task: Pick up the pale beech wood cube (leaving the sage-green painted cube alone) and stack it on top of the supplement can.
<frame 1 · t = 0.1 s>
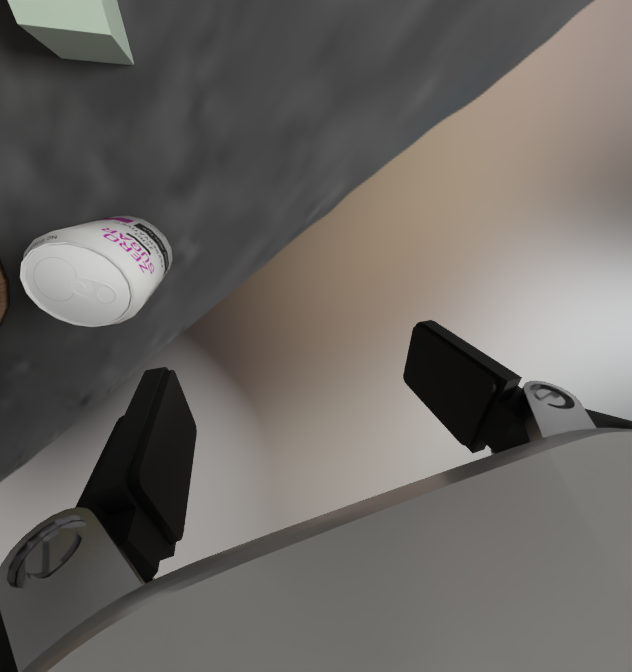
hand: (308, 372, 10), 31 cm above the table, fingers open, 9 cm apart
supplement can: (137, 249, 32), on the table
sage cube: (84, 15, 23), on the table
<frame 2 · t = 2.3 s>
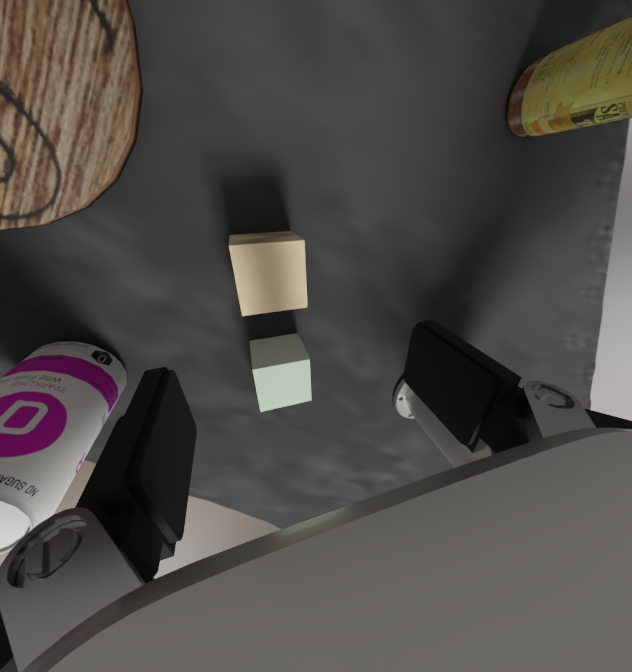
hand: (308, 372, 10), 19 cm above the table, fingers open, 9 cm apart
supplement can: (83, 370, 27), on the table
sage cube: (276, 356, 32), on the table
sauce bottle: (527, 101, 26), on the table
beech cube: (264, 263, 26), on the table
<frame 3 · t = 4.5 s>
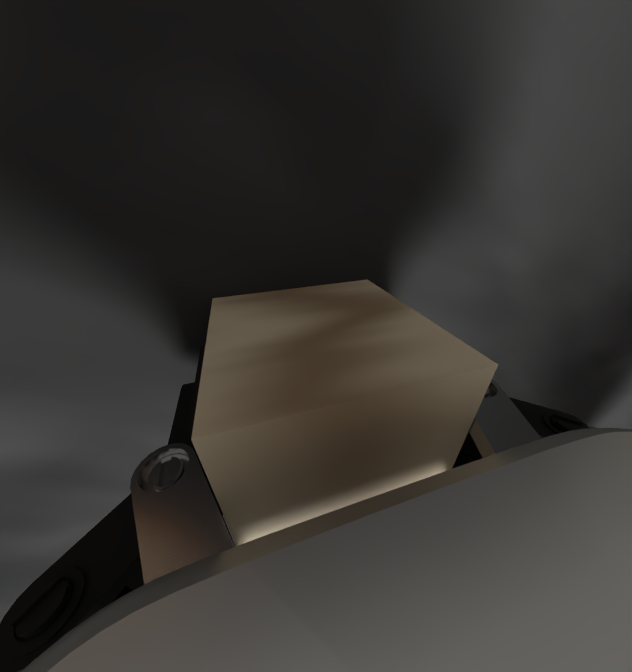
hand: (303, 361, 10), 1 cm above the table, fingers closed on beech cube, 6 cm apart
beech cube: (299, 353, 11), on the table, touching gripper
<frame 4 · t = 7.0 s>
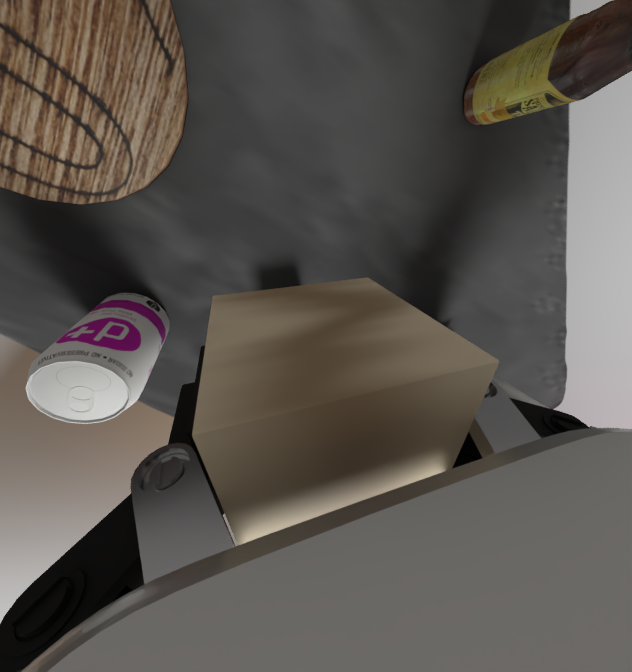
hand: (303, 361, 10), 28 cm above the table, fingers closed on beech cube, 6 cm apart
supplement can: (136, 319, 34), on the table
sauce bottle: (480, 97, 33), on the table
trivet: (24, 35, 21), on the table
beech cube: (300, 351, 11), point 27 cm above the table, touching gripper
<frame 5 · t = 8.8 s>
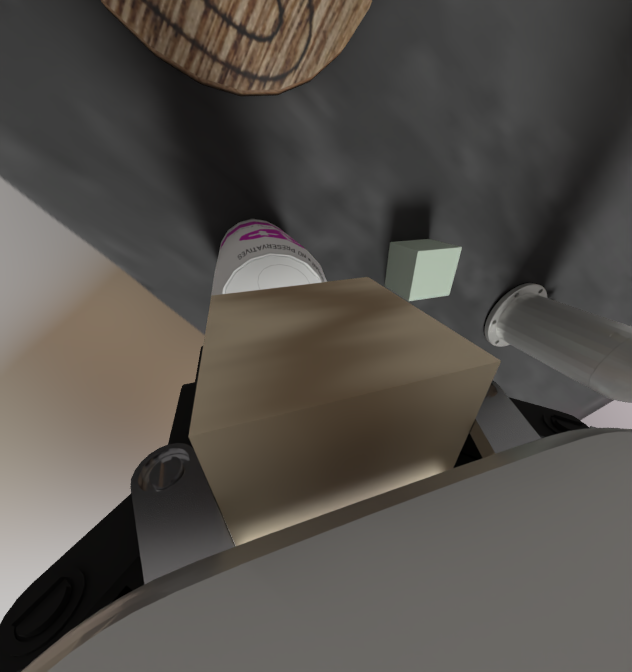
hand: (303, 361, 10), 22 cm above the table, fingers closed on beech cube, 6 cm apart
supplement can: (257, 256, 29), on the table
sage cube: (405, 262, 35), on the table
beech cube: (299, 351, 11), point 21 cm above the table, touching gripper
when the fingers open (17 cm above the table, at t = 9.9 s): beech cube drops 2 cm, resting on supplement can.
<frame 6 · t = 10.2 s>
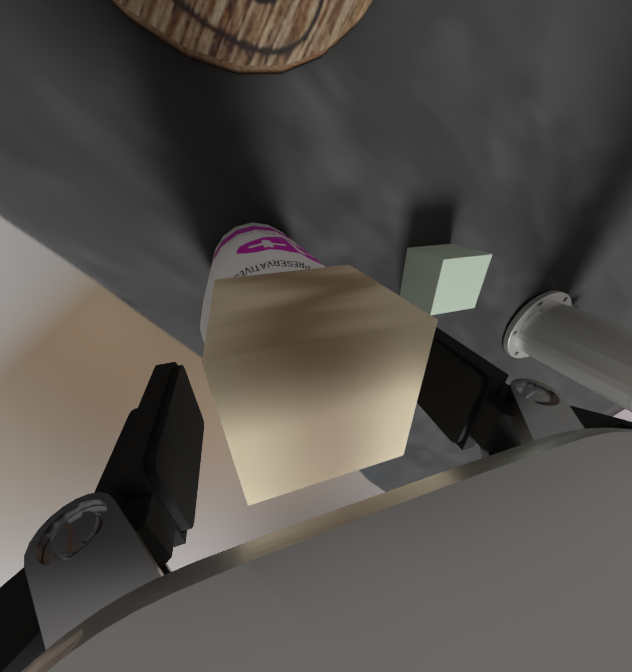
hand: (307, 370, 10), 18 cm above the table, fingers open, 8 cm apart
supplement can: (257, 265, 25), on the table, touching beech cube
sage cube: (423, 270, 31), on the table
beech cube: (291, 330, 13), point 15 cm above the table, touching supplement can
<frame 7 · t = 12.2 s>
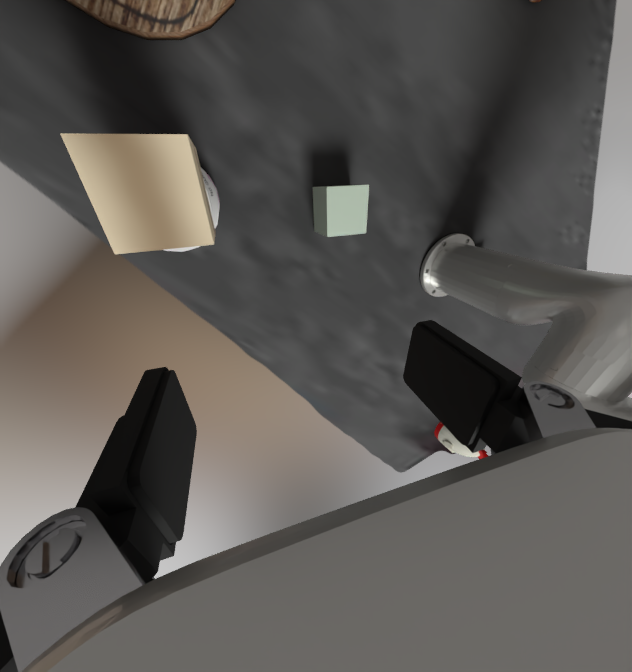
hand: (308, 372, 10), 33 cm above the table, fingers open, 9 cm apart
supplement can: (185, 197, 32), on the table, touching beech cube
sage cube: (331, 208, 39), on the table
beech cube: (166, 195, 20), point 15 cm above the table, touching supplement can
white and red dome: (451, 423, 86), on the table
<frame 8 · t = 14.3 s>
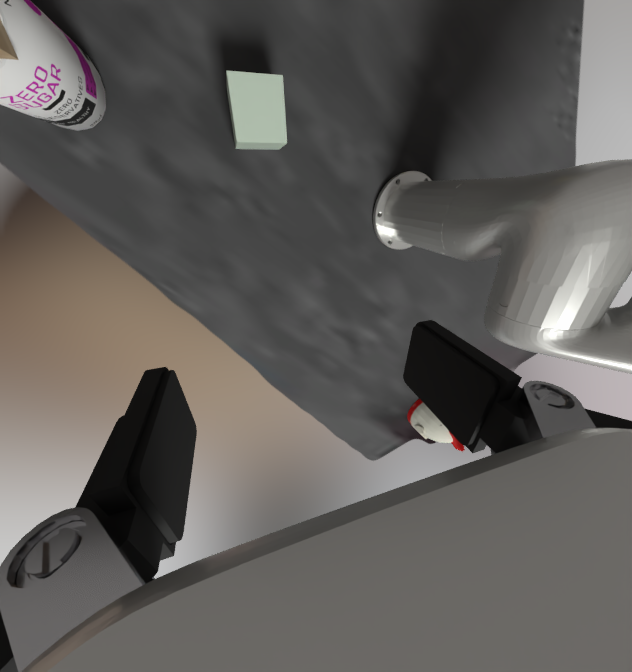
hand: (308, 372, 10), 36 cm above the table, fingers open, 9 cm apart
supplement can: (63, 84, 27), on the table, touching beech cube
sage cube: (254, 121, 33), on the table
white and red dome: (426, 408, 79), on the table
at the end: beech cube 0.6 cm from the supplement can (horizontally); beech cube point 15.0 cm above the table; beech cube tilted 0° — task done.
